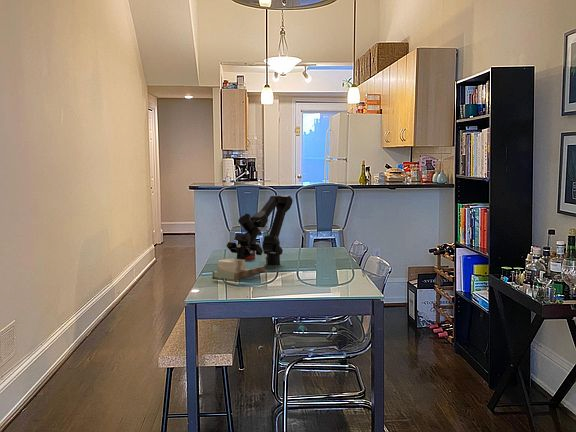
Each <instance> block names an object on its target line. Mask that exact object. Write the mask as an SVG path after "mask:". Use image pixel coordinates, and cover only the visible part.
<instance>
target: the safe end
mask: <svg viewBox="0 0 576 432" xmlns="http://www.w3.org/2000/svg"><path fill="white" fill-rule="evenodd" d="M213 278H214V279H213V280H219V281H227V282H232V283H233V282H234V281H235V280H234V274H233V273H224V272H214V277H213Z"/></svg>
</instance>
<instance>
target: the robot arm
mask: <svg viewBox="0 0 576 432" xmlns="http://www.w3.org/2000/svg"><path fill="white" fill-rule="evenodd" d="M292 204H293V198H292V197H291V196H290V195H277V194H276V195H275V194H274V195H270V196H269V199H268V201H266V203H265V205H263V207H262V208H261V209H260V211H258V212H256V213H254V215H252V217H251V215H250V213H245V214H244V215H241V217H239V218H238V224H239V226H240V227H241V228H242V229H243V230H244V231H245V232H244V233H241V232H236V233H235V235H234V238H233V240H234V241H228V242H227V244H226V248H227V249H228V250H229V251H230V253H233V254H236V259H242V260H246V259H245V258H247V257H248V256H251V255H252V254H251V253H252V252H253V251H255V256H262V254H263V255H266V257H265V264H266V265H267V266H276V265H277V266H281V261H280V260H281V255H282V254H283V248H282V247H281V246H280V244H281V241H280V238H279V236H280V233H281V231H282V230H281V229H282V226H283V223H284V219H285V215H286V213H287V212H288V211H289V210H290V209H291V208H292ZM275 208H276V212H275V216H274V217H273V218H274V219H273V221H272V224H271V227H270V230H269V234H268V235H264V237H263V240H262V245H261V246H262V247H261V246H260V244H258V243H257V239H258V236H262V235H263V234H262V232H261V231H262V230H261V229H259V228H263V229H264V228H265V227H266V225H267V224H268V223H269V217H270V215H271V214H272V213H273V211H274V209H275ZM235 241H237V243H238V244H237V243H236V242H235Z"/></svg>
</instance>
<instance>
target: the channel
mask: <svg viewBox="0 0 576 432" xmlns="http://www.w3.org/2000/svg"><path fill="white" fill-rule="evenodd" d="M214 272H218V269H217V270H213V271H212V280H215V279H214V278H215V277H214ZM263 272H266V266H265V265H261V266H257V267H254V268H245V271H243V272H240V273H236V274H234V282H235V283H237V282H238V280H240V279H244V278H246V277H250V276H253V275H256V274H260V273H263Z"/></svg>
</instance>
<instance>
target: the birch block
mask: <svg viewBox="0 0 576 432" xmlns="http://www.w3.org/2000/svg"><path fill="white" fill-rule="evenodd" d="M245 269H246V259H244V260H242V259H237V258H232V257H231V258H229V257H228V258H223V259H220V260H217V270H218V272H224V273H233V274H236V273H240V272H243V271H245Z"/></svg>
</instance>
